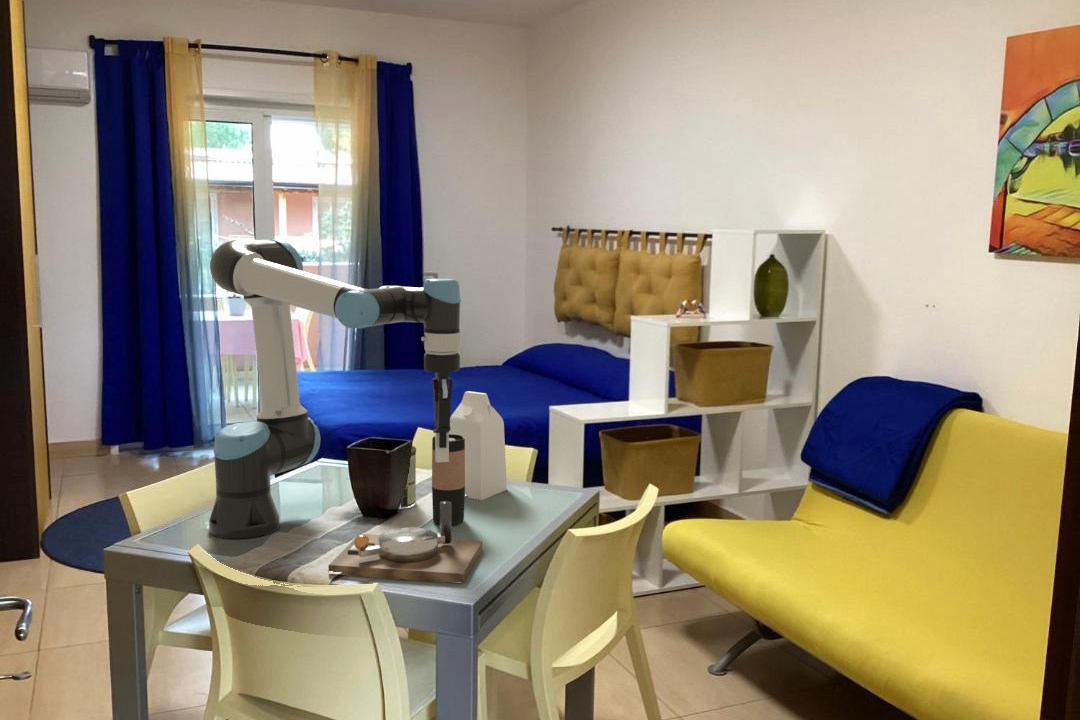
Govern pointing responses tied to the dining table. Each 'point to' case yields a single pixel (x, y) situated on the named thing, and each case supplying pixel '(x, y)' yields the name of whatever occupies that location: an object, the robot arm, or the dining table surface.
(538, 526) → the dining table surface
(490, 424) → the milk
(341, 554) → the stand
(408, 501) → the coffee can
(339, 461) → the dining table surface
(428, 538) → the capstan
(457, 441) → the travel mug
